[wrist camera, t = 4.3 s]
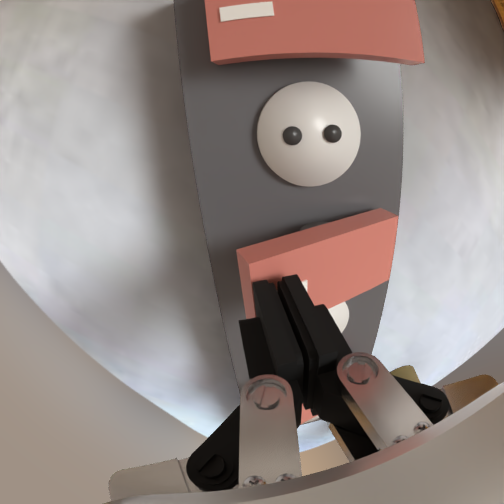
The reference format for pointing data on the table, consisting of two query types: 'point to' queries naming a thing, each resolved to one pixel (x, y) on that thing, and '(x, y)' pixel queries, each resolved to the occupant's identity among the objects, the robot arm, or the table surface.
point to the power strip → (287, 159)
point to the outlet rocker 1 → (314, 30)
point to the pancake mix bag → (499, 10)
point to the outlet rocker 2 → (324, 258)
